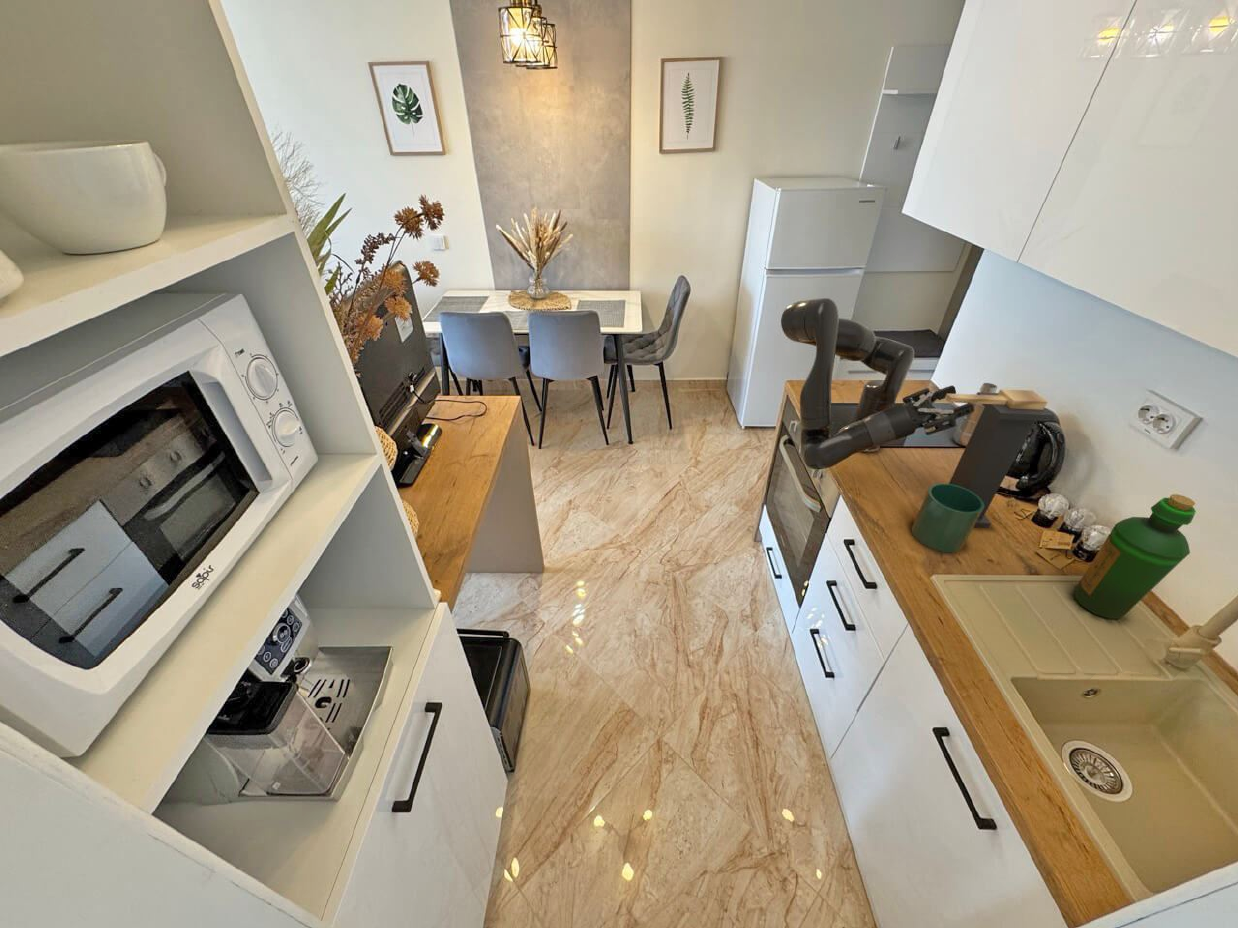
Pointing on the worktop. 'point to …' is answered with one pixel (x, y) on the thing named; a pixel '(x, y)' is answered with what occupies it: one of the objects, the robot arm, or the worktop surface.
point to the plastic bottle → (972, 418)
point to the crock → (947, 517)
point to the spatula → (1003, 399)
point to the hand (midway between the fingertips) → (963, 397)
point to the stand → (994, 450)
